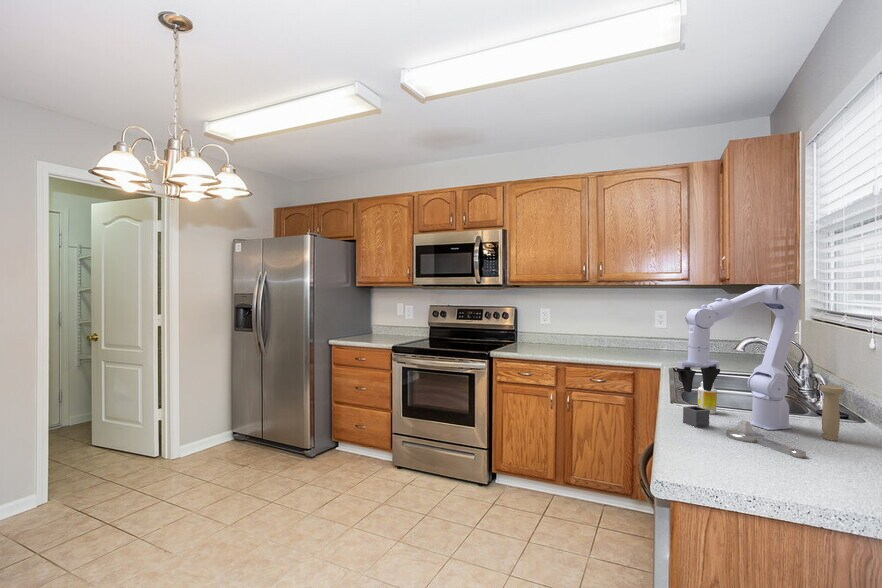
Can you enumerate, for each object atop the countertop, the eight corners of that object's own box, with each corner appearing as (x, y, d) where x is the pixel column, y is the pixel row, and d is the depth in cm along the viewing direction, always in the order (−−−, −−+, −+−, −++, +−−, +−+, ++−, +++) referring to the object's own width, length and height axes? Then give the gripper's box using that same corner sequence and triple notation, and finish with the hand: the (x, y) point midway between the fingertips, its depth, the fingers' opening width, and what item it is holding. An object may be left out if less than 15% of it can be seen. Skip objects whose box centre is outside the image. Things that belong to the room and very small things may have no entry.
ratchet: (742, 431, 133) (742, 415, 133) (817, 456, 113) (818, 438, 113) (718, 433, 130) (718, 417, 130) (791, 459, 110) (791, 441, 110)
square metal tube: (695, 421, 142) (696, 406, 142) (709, 426, 137) (709, 410, 137) (682, 422, 140) (683, 406, 140) (696, 427, 135) (696, 411, 135)
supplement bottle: (720, 413, 152) (720, 383, 152) (708, 414, 150) (709, 384, 150) (705, 409, 157) (706, 380, 157) (693, 410, 155) (694, 381, 155)
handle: (843, 439, 127) (845, 387, 127) (839, 444, 123) (840, 389, 123) (821, 435, 131) (823, 384, 131) (816, 439, 127) (818, 386, 126)
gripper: (690, 349, 132) (689, 395, 132) (728, 348, 136) (727, 393, 137) (672, 346, 139) (670, 389, 139) (708, 345, 143) (707, 388, 143)
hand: (697, 391), depth 138 cm, fingers open, 7 cm apart
